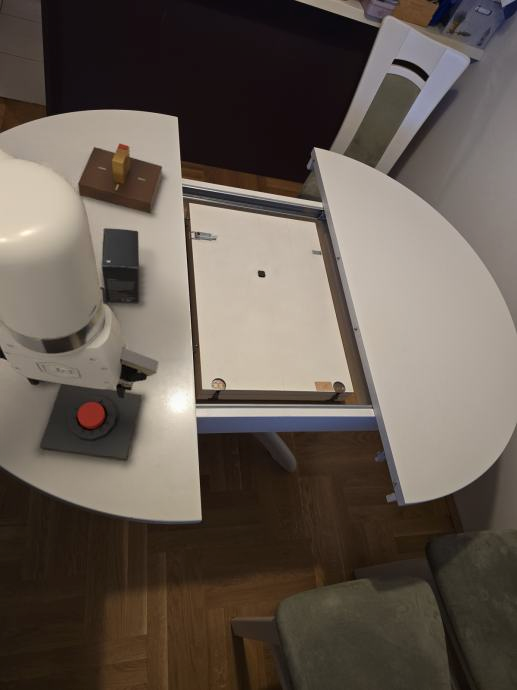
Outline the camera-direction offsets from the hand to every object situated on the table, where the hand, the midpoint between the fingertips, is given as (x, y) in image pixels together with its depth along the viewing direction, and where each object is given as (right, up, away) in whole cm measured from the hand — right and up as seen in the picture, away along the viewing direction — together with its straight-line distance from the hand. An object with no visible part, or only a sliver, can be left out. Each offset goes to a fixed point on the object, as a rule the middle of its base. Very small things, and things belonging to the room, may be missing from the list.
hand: (82, 379), depth 47 cm
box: (-4, +15, +26) cm, 30 cm away
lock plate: (-7, +38, +35) cm, 52 cm away
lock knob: (-7, +39, +33) cm, 51 cm away
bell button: (-3, -6, +11) cm, 13 cm away
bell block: (-4, -8, +14) cm, 17 cm away
